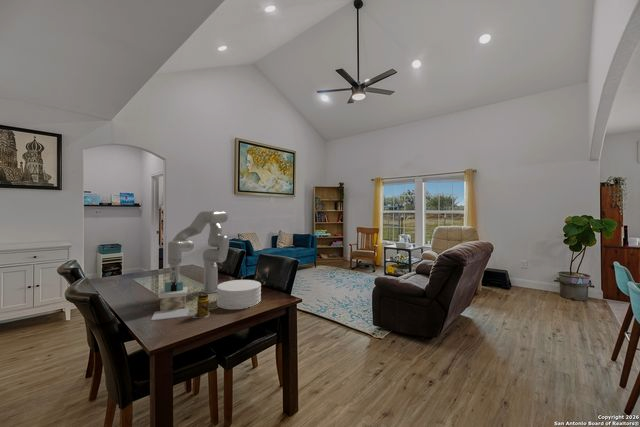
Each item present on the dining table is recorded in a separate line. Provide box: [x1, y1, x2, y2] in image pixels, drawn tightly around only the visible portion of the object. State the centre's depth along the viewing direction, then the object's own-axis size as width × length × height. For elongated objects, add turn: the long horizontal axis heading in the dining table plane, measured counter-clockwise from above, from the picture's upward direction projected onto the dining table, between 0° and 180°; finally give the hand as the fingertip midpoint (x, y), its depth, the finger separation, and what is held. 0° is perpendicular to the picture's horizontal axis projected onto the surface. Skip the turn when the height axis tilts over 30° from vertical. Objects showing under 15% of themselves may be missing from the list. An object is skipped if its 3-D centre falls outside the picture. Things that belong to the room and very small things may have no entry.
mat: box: [150, 307, 190, 322], centre depth 157 cm, size 18×13×1 cm
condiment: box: [191, 293, 211, 319], centre depth 157 cm, size 7×8×12 cm
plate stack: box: [216, 279, 262, 310], centre depth 181 cm, size 28×28×12 cm
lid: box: [158, 280, 189, 299], centre depth 171 cm, size 15×15×7 cm
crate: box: [159, 296, 187, 311], centre depth 171 cm, size 13×13×9 cm
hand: (174, 289), depth 171 cm, fingers closed on lid, 3 cm apart
